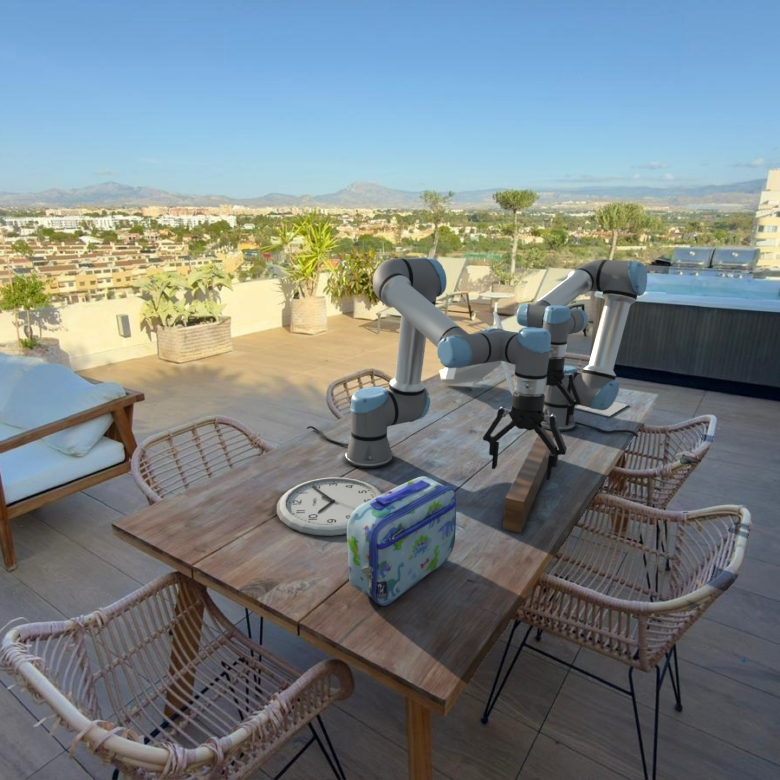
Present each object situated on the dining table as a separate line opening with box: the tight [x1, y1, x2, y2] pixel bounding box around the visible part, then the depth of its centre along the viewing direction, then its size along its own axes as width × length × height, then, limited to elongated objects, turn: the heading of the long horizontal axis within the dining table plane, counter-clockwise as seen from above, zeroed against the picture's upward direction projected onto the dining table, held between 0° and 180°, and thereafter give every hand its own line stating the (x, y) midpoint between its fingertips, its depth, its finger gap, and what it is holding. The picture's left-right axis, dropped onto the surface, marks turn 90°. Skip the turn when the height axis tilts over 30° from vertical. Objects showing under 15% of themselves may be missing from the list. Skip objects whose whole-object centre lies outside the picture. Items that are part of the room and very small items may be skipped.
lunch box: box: [346, 475, 457, 607], centre depth 111 cm, size 26×11×21 cm, turn 134°
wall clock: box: [276, 476, 384, 537], centre depth 142 cm, size 30×2×30 cm
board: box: [502, 430, 555, 534], centre depth 153 cm, size 51×5×9 cm, turn 155°
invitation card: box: [574, 401, 629, 418], centre depth 226 cm, size 21×1×15 cm
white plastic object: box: [438, 310, 515, 396], centre depth 245 cm, size 37×45×31 cm
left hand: (520, 472), depth 132 cm, fingers open, 13 cm apart
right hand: (545, 420), depth 168 cm, fingers open, 13 cm apart
